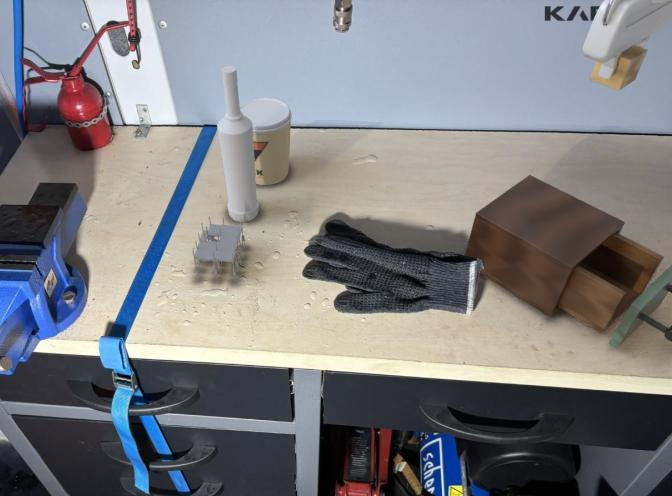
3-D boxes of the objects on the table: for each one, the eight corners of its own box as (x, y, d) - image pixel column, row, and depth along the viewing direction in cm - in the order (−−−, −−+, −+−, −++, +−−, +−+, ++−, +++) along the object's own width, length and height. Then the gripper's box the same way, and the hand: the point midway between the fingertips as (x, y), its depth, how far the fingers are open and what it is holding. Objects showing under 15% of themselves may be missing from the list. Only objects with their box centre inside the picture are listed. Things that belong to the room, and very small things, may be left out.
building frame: (196, 280, 90) (190, 251, 86) (207, 244, 95) (202, 214, 91) (237, 283, 89) (233, 253, 85) (246, 246, 95) (243, 217, 90)
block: (606, 69, 92) (617, 39, 88) (635, 80, 89) (648, 49, 86) (589, 79, 90) (600, 49, 86) (618, 91, 87) (631, 60, 84)
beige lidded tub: (230, 171, 108) (223, 110, 99) (270, 150, 112) (267, 90, 103) (262, 195, 103) (257, 133, 94) (303, 173, 107) (303, 112, 98)
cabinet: (599, 272, 87) (625, 221, 80) (549, 317, 82) (572, 267, 75) (513, 224, 95) (529, 174, 88) (462, 262, 90) (475, 212, 83)
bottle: (258, 222, 98) (246, 77, 80) (227, 223, 99) (208, 79, 80) (259, 202, 102) (248, 59, 83) (229, 203, 102) (211, 60, 84)
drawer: (697, 324, 79) (727, 283, 73) (653, 372, 74) (682, 332, 69) (570, 254, 89) (588, 212, 83) (524, 292, 84) (540, 251, 78)
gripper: (639, -3, 72) (598, 102, 82) (719, -48, 80) (672, 53, 91) (590, -17, 75) (556, 86, 86) (672, -59, 84) (632, 40, 94)
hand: (617, 69), depth 88 cm, fingers closed on block, 4 cm apart
